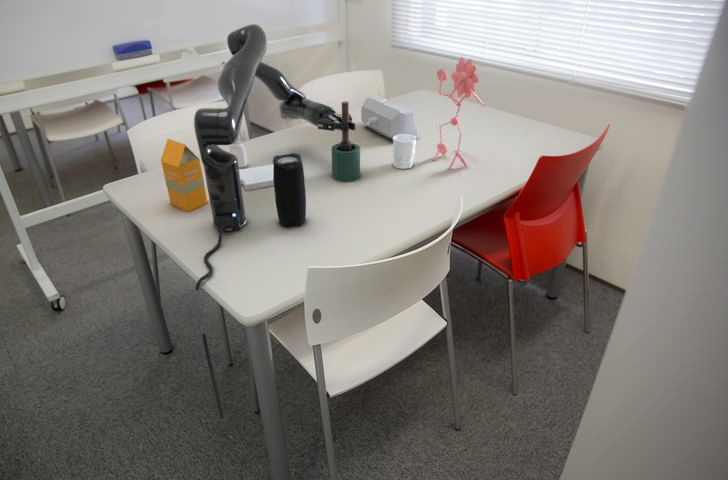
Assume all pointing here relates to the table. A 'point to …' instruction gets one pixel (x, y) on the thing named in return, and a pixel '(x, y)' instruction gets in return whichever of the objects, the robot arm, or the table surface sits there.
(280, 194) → the portable speaker
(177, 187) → the orange juice
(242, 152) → the eye dropper bottle
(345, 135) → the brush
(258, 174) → the mounting plate
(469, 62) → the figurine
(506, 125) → the table surface
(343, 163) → the green plastic pot
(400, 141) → the white cup
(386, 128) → the tank
